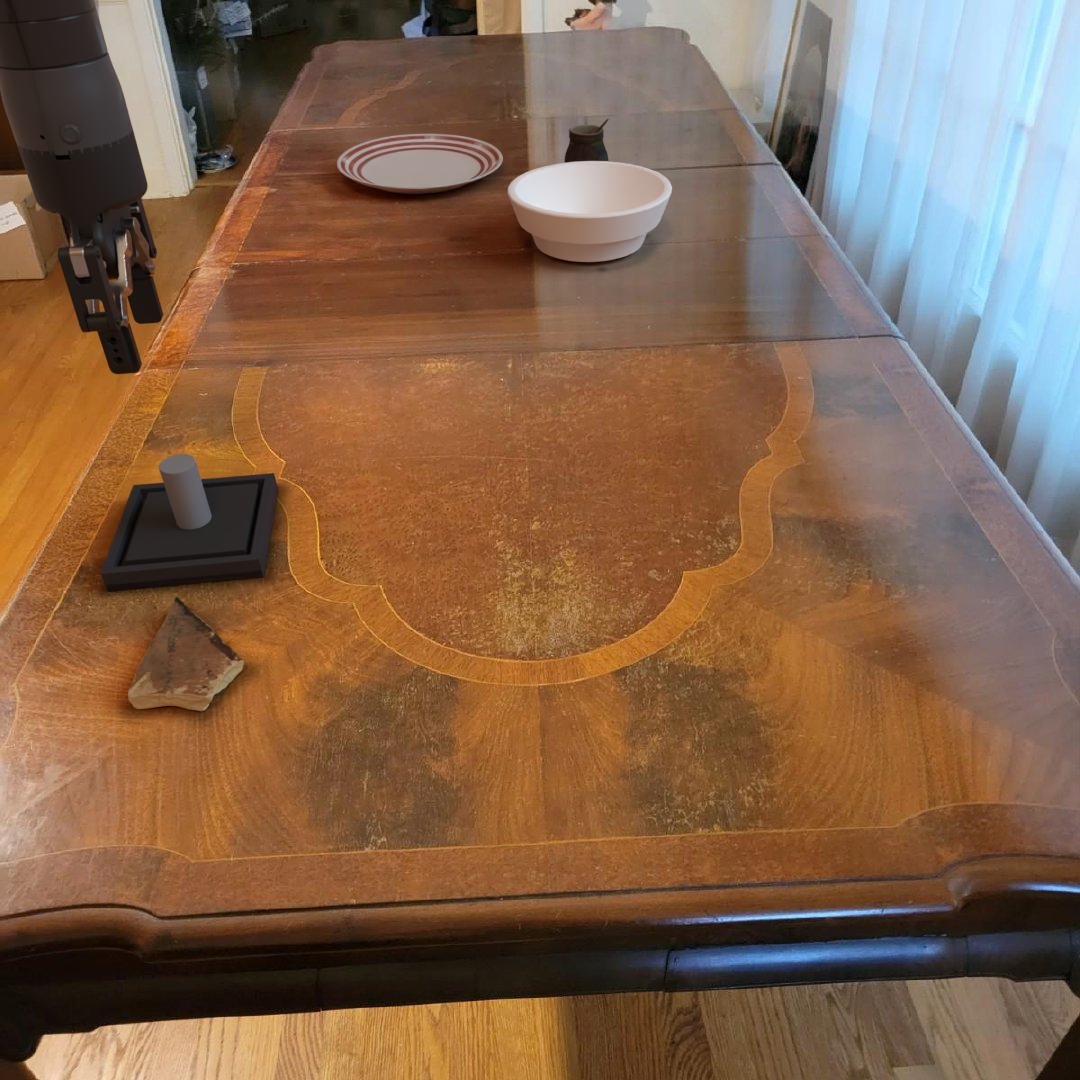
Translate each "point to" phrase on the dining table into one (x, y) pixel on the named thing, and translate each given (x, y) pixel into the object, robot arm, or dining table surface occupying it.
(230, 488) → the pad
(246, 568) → the base pad
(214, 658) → the shard
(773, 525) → the dining table surface
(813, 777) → the dining table surface
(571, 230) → the bowl
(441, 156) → the dinner plate
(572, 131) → the mate gourd
